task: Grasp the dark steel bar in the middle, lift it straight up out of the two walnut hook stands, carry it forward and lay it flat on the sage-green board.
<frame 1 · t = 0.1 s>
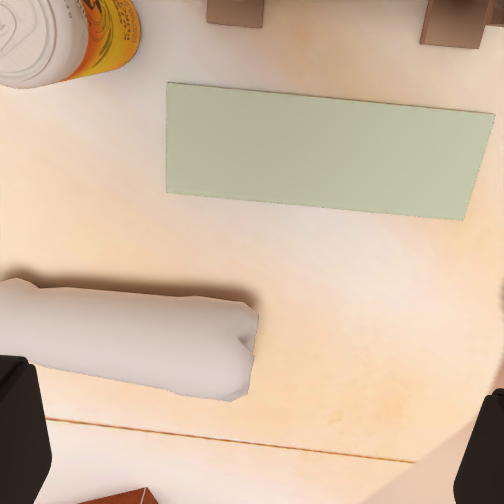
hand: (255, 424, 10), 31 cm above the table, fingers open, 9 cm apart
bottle: (107, 302, 46), on the table
beer can: (104, 27, 35), on the table
board: (322, 154, 38), on the table
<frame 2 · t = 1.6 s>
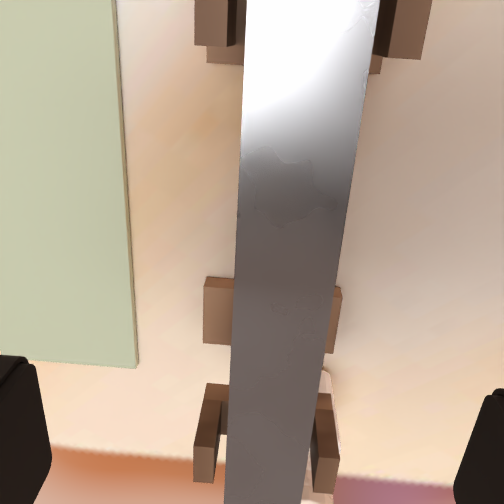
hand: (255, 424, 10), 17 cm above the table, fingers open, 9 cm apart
rack: (281, 185, 25), on the table
salt shaker: (296, 384, 31), on the table
board: (45, 168, 25), on the table
rail: (282, 259, 17), point 9 cm above the table, touching rack
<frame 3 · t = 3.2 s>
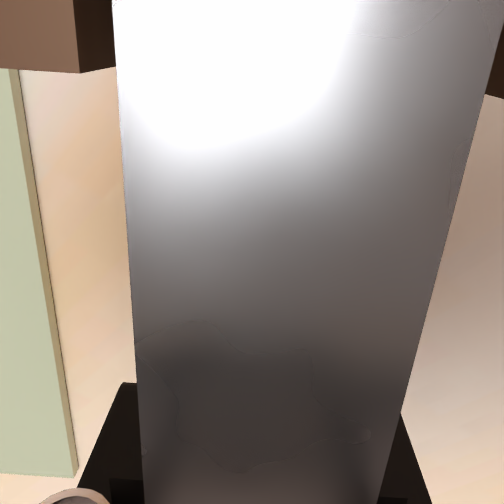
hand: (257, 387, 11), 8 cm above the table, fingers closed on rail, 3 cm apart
rack: (261, 248, 18), on the table
rail: (255, 431, 9), point 9 cm above the table, touching gripper, rack
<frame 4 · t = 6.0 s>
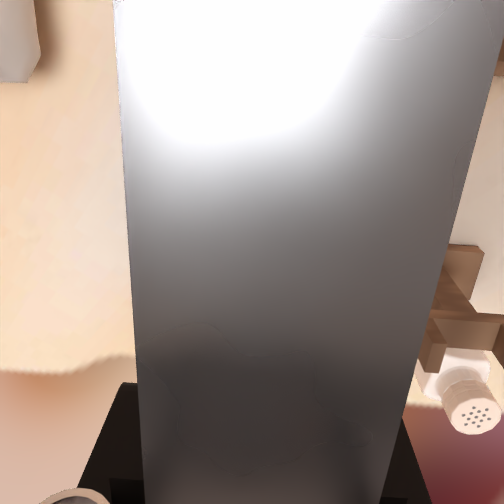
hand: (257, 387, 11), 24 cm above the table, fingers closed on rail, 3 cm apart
rack: (443, 164, 32), on the table
salt shaker: (429, 329, 38), on the table
rail: (256, 432, 9), point 25 cm above the table, touching gripper
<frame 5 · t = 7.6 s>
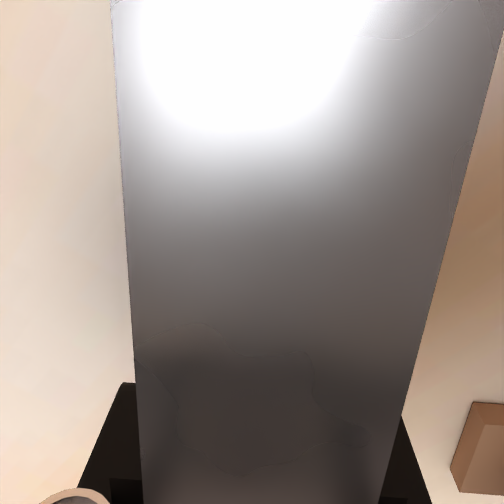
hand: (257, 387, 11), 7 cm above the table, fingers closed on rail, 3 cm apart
rail: (255, 432, 9), point 8 cm above the table, touching gripper
when the fingers open (1 cm above the table, at t = 9.0 s): rail drops 2 cm, resting on board.
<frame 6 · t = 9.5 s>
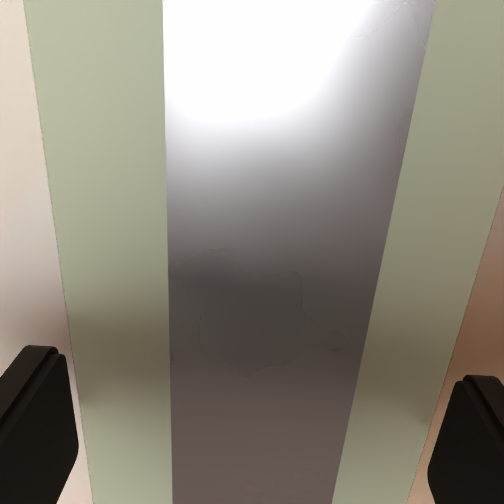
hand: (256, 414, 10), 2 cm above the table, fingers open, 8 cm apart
board: (258, 357, 12), on the table
rail: (257, 373, 11), point 1 cm above the table, touching board
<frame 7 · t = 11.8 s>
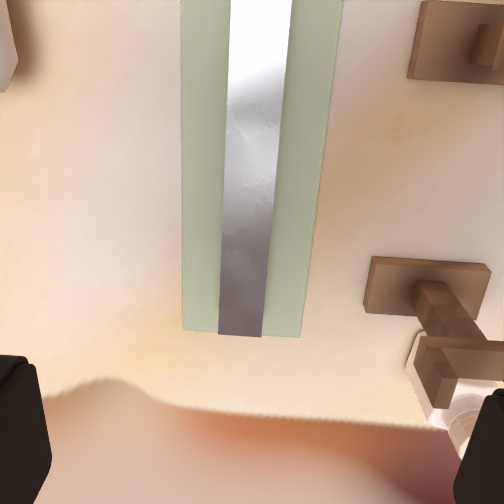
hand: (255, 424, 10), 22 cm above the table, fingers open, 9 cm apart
rack: (449, 178, 30), on the table
salt shaker: (432, 349, 36), on the table
board: (251, 165, 30), on the table
rail: (251, 167, 29), point 1 cm above the table, touching board
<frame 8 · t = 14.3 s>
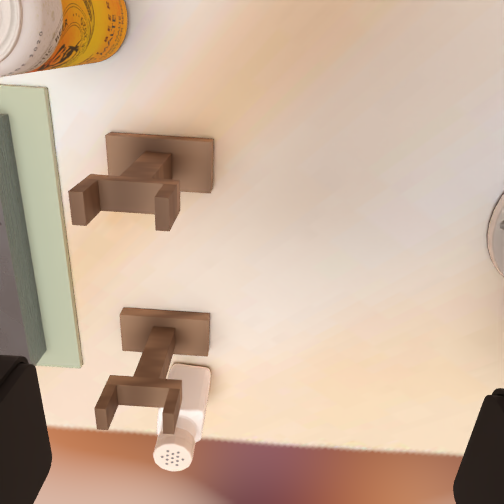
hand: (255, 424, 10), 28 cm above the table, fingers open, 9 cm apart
rack: (165, 252, 40), on the table
salt shaker: (190, 377, 46), on the table
beer can: (88, 15, 32), on the table
board: (16, 242, 40), on the table
rail: (12, 245, 39), point 1 cm above the table, touching board
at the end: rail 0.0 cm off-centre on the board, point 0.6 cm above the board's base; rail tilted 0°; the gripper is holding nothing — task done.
